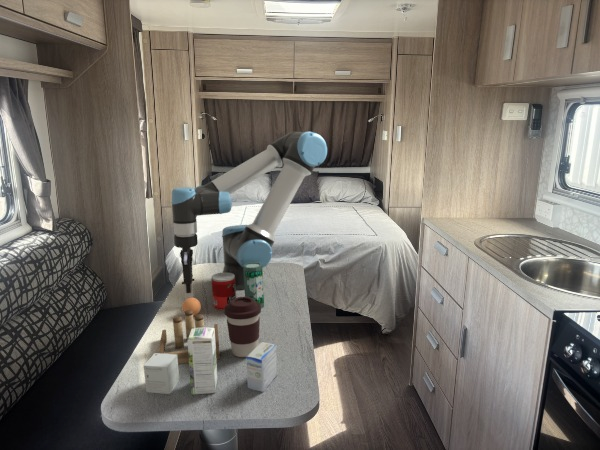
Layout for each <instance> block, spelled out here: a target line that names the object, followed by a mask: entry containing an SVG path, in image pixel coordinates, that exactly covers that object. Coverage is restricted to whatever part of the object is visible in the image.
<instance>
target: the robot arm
mask: <svg viewBox="0 0 600 450" xmlns="http://www.w3.org/2000/svg"><path fill="white" fill-rule="evenodd" d="M327 155H328V145H327V143H326V140H325V139H324V138H323V137H322V136H321V135H320V133H319V134H318V133H316V132H313V131H291V132H289V133H287V134H285V135H283V136H282V137H279V138H278V139H276V140H274V141H273V142H272V143H270V144H268V145H267V147H266V149H265V150H263V151H262V152H260V153H258V154H256V155H254V156H253V157H250V158H249V159H247V160H246V161H244V162H243V163H240V164H239V165H236V167H234V168H232V169H230V170H229V171H227V172H225V173H223V174H222V175H219V176H218V177H216V178H215V179H213V180H210V181H209V182H208V183H206V184H204V185H198V186H196V187H194V188H193V187H189V186H188V187H187V186H185V187H184V186H183V187H176V188H173V190H172V191H171V201H170V202H171V208H172V210H171V211H172V221H173V222H172V223H173V224H171V228H173V234H175V235H174V236H173V239H174V241H173V242H174V246H175V248H180V249H181V250H180V253H179V258H181V259H180V260H181V262H180V263H181V267H182V278H183V281H182V282H181V285H184V299H185V300H186V299H188V298H195V297H194V286H193V285H194V282H195V281H196V280H195V278H193V276H194V275H193V261H194V259H193V255H194V250H193V249H192V248H194V247H196V246H197V245H198V243H199V241H198V234H197V233H198V224H197V223H198V221H197V217H198V216H206V215H207V216H208V215H209V216H210V215H222V214H227V213H230V212H231V211H232V208H233V207H232V206H233V204H232V203H233V200H232V196H231V194H233V193H234V192H236V191H238V190H240V189H241V188H243V187H245V186H247V185H248V184H249V183H252V182H253V181H255V180H257V179H258V178H260V177H262V176H263V175H265V174H267V173H269V172H270V171H272V170H273V169H275V168H277V167H278V168H281V170H280V172H279V174H278V176H277V178H276V179H275V181H274V183H273V185H272V186H271V188H270V190H269V192H268V194H267V196H266V198H265V200H264V202H263V203H262V205H261V207H260V209H259V211H258V212H257V215H256V216H255V218H254V220H253V222H251V223H250V224H238V225H231V226H225V227H224V228H223V229H222V233H221V234H222V235H221V238H222V247H223V248H222V250H223V265H224V266H223V269H222V272H221V273H223V272H227V273H232V274H234V275H235V288H236V290H240V291H241V290H244V271H243V265H244V264H246V263H249V262H259V263H262V269H264V268H266V267H267V266H268V265H269V264H270V263H271V261H272V256H273V250H272V247H273V246H274V243H275V242H276V241H275V236H274V235H275V232H276V231H277V229H278V227H279V225H280V223H281V221H282V220H283V218H284V217H285V214H286V212H287V210H288V208H289V206H290V205H291V203H292V201H293V200H294V198H295V196H296V194H297V192H298V190H299V188H300V187H301V185H302V183H303V180H304V179H305V177H307V176H310V175H311V174H312V173H313V171H314V169H315V167H318V166H320V165H321V164H323V163H324V161H325V160H326V158H327ZM185 300H184V301H185Z"/></svg>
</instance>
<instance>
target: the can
mask: <svg viewBox="0 0 600 450" xmlns="http://www.w3.org/2000/svg"><path fill="white" fill-rule="evenodd" d="M263 269H264V268H262V263H259V262H249V263H246V264H244V265H243V271H244V289H243V290H244V297H251V298H253V299H254V300H255V301H256V302H258V303H260V305H261V309H263V308H264V307H265V297H264V296H265V295H264V293H265V292H264V274H263V272H264V271H263Z"/></svg>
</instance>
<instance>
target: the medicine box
mask: <svg viewBox="0 0 600 450" xmlns="http://www.w3.org/2000/svg"><path fill="white" fill-rule="evenodd" d="M245 358H246V359H245V360H246V361H245V362H246V377H247V378H246V379H247V380H246V381H247V388H248V389H250V390H253V391H258V392H260V393H262V392H265V391H266V389H267V388H268V387H269V386H270V384H271V383H272V382H273V381H274V380H275V378H276V377H277V376H278V346H277V344H273V343H270V342H263V341H260V343H258V346H257V347H256V348H255V349H254V350H253V351H252V352H251V353H250V354H249V355H248V356H247V357H245Z"/></svg>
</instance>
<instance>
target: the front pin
mask: <svg viewBox="0 0 600 450" xmlns="http://www.w3.org/2000/svg"><path fill="white" fill-rule="evenodd" d="M183 314H184V323H185V324H184V325H185V334H186V335H185V336H186V341H187V342H188V338H189V335H190V332H191V329H194V328H195V319H194V316H193V311H192V310H186V311H185V312H183Z"/></svg>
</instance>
